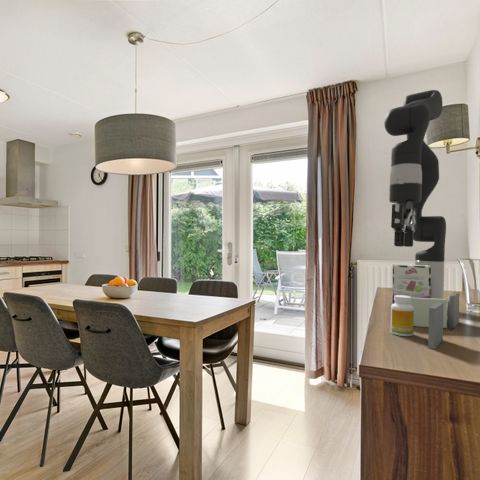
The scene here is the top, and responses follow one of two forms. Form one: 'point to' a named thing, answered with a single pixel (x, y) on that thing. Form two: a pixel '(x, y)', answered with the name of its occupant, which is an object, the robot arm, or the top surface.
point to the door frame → (437, 319)
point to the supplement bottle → (402, 316)
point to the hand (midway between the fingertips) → (403, 246)
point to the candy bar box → (411, 281)
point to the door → (426, 310)
